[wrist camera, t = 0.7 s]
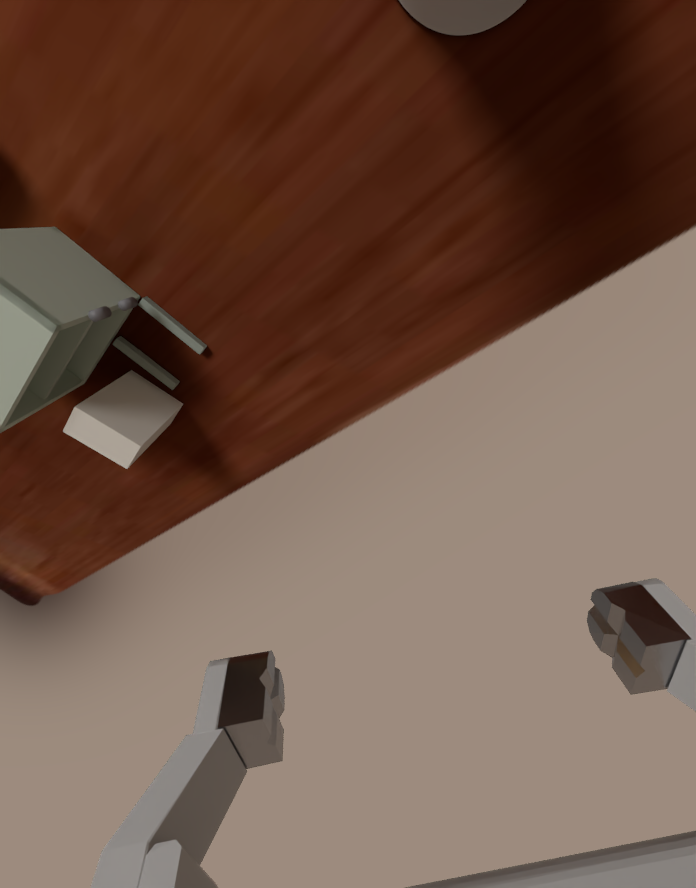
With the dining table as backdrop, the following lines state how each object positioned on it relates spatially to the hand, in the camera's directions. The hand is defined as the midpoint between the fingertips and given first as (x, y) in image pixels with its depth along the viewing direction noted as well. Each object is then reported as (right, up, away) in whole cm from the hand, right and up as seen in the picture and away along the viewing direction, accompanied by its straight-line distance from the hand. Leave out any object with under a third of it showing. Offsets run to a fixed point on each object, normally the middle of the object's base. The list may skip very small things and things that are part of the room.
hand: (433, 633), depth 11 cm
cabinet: (-30, +17, +38) cm, 51 cm away
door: (-27, +11, +41) cm, 50 cm away
